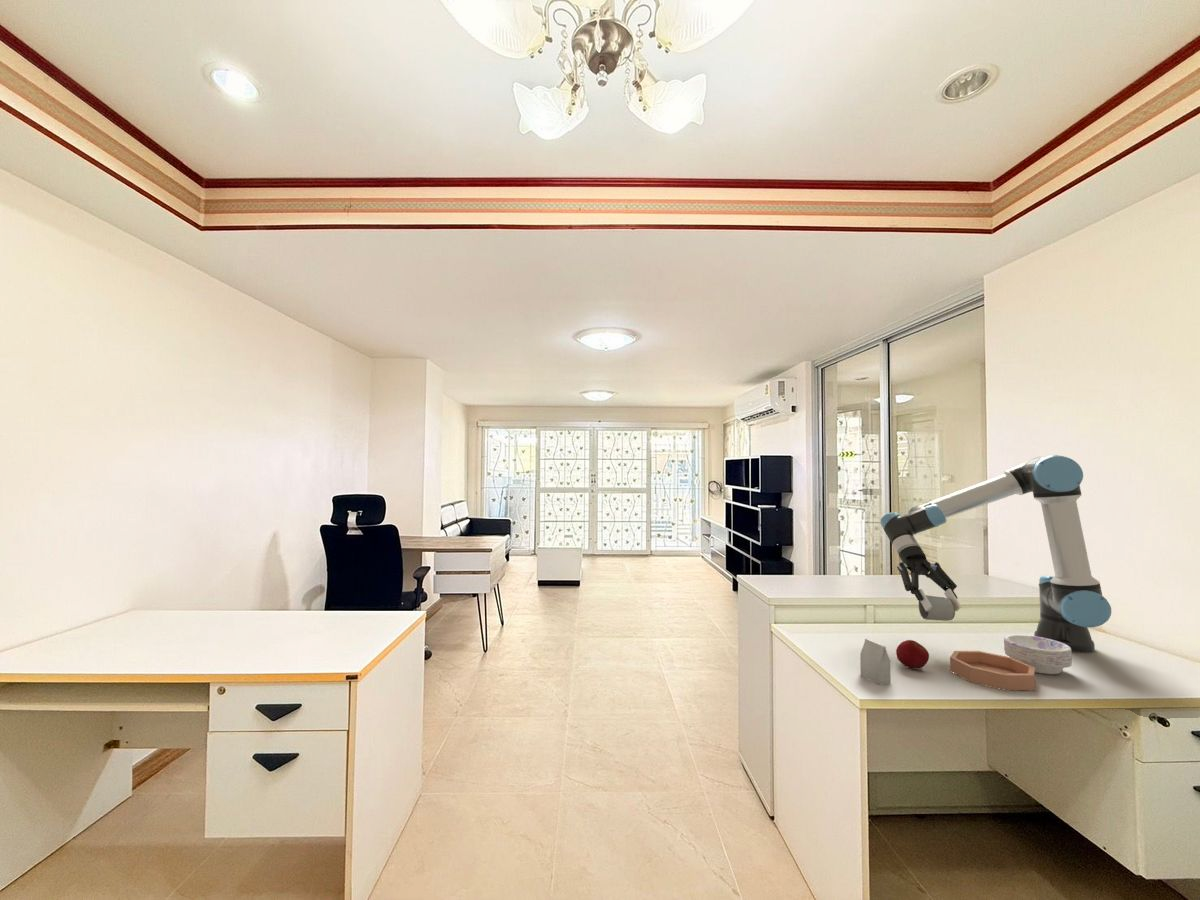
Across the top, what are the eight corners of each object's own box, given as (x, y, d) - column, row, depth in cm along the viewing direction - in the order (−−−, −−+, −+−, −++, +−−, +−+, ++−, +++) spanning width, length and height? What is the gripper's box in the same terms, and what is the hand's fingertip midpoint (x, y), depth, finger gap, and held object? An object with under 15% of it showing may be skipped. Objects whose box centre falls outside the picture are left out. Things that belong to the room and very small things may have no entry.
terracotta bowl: (996, 664, 150) (996, 650, 150) (1053, 690, 132) (1053, 675, 132) (937, 664, 150) (936, 650, 150) (986, 690, 131) (986, 675, 132)
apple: (912, 674, 142) (912, 645, 142) (890, 663, 149) (890, 636, 150) (935, 672, 143) (934, 644, 143) (912, 662, 151) (911, 635, 151)
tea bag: (879, 684, 134) (879, 647, 135) (860, 675, 141) (860, 639, 141) (890, 683, 135) (890, 646, 136) (871, 673, 142) (870, 638, 142)
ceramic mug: (957, 623, 156) (956, 598, 157) (929, 622, 157) (928, 597, 158) (940, 615, 166) (939, 591, 167) (913, 613, 168) (912, 590, 168)
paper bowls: (993, 663, 151) (992, 636, 152) (1022, 656, 157) (1021, 631, 158) (1054, 682, 137) (1054, 653, 138) (1083, 674, 143) (1083, 646, 144)
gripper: (934, 557, 177) (970, 615, 160) (875, 557, 176) (905, 615, 159) (944, 544, 172) (983, 602, 155) (883, 544, 171) (915, 602, 154)
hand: (943, 609), depth 157 cm, fingers closed on ceramic mug, 9 cm apart
